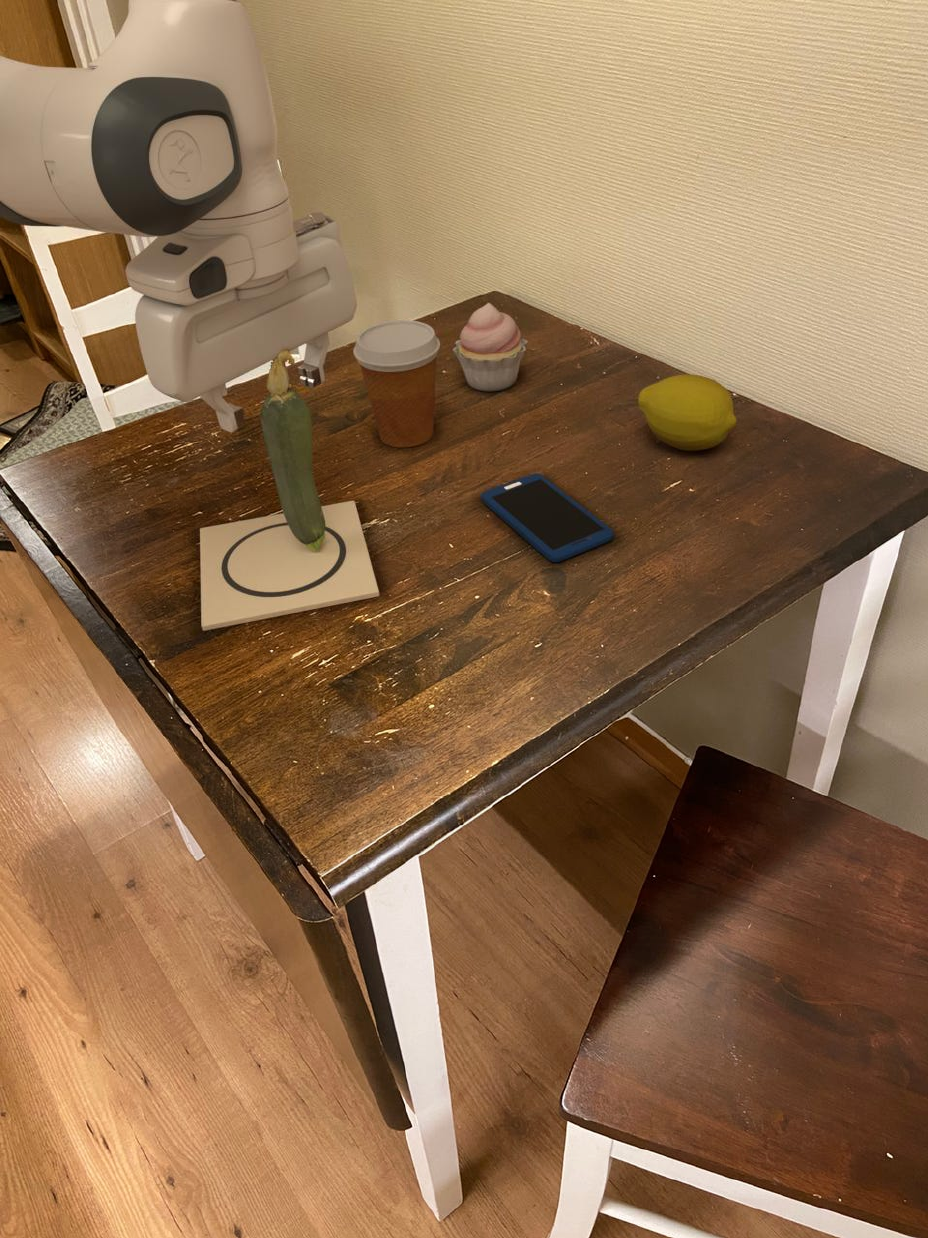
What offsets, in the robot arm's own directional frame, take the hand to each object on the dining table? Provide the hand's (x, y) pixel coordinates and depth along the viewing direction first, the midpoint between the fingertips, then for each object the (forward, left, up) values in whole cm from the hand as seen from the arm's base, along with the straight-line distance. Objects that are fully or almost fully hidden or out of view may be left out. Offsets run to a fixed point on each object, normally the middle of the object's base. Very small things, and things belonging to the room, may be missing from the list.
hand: (274, 405), depth 77 cm
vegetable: (+1, -1, -15) cm, 15 cm away
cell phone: (+24, -3, -15) cm, 28 cm away
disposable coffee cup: (+14, +19, -16) cm, 28 cm away
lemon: (+43, +6, -16) cm, 46 cm away
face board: (-2, -2, -15) cm, 16 cm away
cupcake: (+27, +29, -16) cm, 43 cm away
